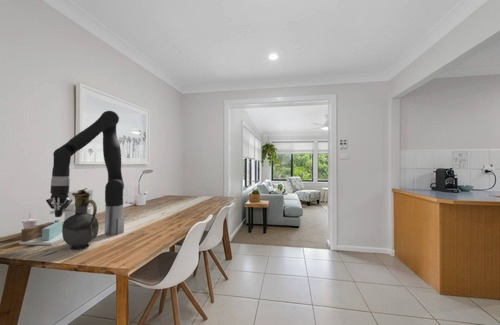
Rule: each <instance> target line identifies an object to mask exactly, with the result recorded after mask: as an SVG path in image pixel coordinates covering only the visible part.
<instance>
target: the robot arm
mask: <svg viewBox="0 0 500 325" xmlns="http://www.w3.org/2000/svg"><path fill="white" fill-rule="evenodd" d="M119 121H120V117H119V114H118V113H117V112H115V111H113V110H106V111H104V112H103V113H102V114H101V115H100V116H99V117H98V119H96V120H95V121H94V122H93V123H92V124H90V125H89V126H87V127H86V128H85V129H84V130H82V131H80V132H78V133H77V134H76V135H74V136H73V137H71V138H70V139H69V140H68V141H67V142H66V143H64V144H63V145H61V146H60V147H58V148H56V149H55V150H54V151H53V152H52V153H53V154H52V156H53V167H52V173H51V179H50V192H49V193H50V194H51V195H50V198H47V199H45V201H46V203H47V204H48V206H49V207H50V209H51V210H53V211H55V214H54V217H55V218H61V217H62V216H63V214H62V212H63V209H65V208H67V207H68V206H69V204H70V203H71V202H72V199H71V200H70V199H69V198H68V193H69V192H70V171H71V170H70V165H71V159H72V156H74V155H75V154H76V153H78V151H80V150H82V149H84V148H85V147H86V146H87V145H88V144H90V143H91V142H92V141H93V140H94V139H96V137H98V136H99V135H100V134H101V133H102V151H103V152H102V153H103V160H104V164H105V168H106V171H107V183H106V184H105V187H104V188H105V190H104V202H105V205H104V206H105V210H104V212H105V213H104V235H105V236H117V235H120V234H122V233H124V232H125V216H124V215H123V214H124V188H125V185H124V180H123V179H124V178H123V174H122V150H121V145H120V142H119V139H118V136H117V125H118V124H119ZM57 206H58V207H57Z"/></svg>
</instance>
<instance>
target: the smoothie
mask: <svg viewBox="0 0 500 325" xmlns="http://www.w3.org/2000/svg"><path fill="white" fill-rule="evenodd" d="M28 214H29V215H28V216H29V217H28V219H23V220H22V221H21V223H22V226H23V229H26V228H29V227H33V226H37V223H38V221H39V219H38V218H31V216H32V215H31V214H32V212H31V211H30V212H29V213H28Z"/></svg>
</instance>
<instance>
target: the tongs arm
mask: <svg viewBox="0 0 500 325" xmlns="http://www.w3.org/2000/svg"><path fill="white" fill-rule="evenodd" d="M63 223H64V222H63V221H60V220H59V219H57V220H54V224H52V225H50V226H48V227H46V228H44V229H42V241H43V240H50V239H52V238H53V237H55V236H57V235H58V234H60V233H61V232H62V227H63Z"/></svg>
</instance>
